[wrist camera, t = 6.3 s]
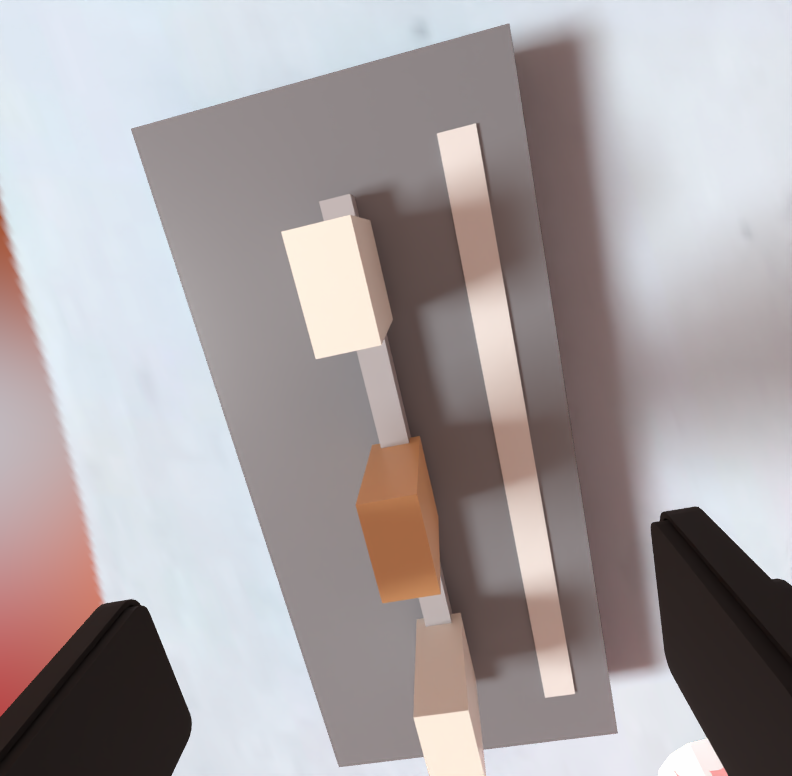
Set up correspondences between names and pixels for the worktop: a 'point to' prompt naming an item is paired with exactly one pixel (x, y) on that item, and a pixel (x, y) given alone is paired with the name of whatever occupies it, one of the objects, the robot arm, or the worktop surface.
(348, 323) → the switch paddles
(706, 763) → the beverage cup
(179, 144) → the switch panel
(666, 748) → the worktop surface
